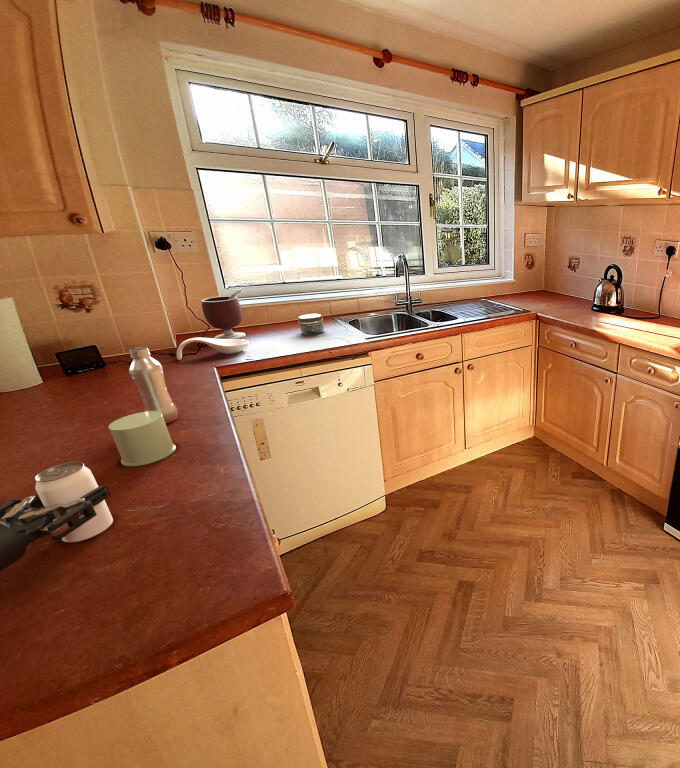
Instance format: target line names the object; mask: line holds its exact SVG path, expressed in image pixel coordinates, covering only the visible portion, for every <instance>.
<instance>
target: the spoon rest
mask: <svg viewBox="0 0 680 768" xmlns="http://www.w3.org/2000/svg"><path fill="white" fill-rule="evenodd" d="M192 343H202V344H205V345H207V346H209V347H210V348H212V349H214V350H216V351H218V352H220V353H222V354H224V355H230V354H231V355H233V354H238V353H240V352H242V351H243V350H245V349H246V348H247V347H248V345H249V344H250V342H249V340H247V339H243V338H240V339H213V337H191V338H188V339H186V340H184V341H182V342H181V343H180V344H179V346H178V348H177V350H176V359H177V360H178V361H181V360H182V359H183V349H184V347H186V346H187V345H189V344H192Z"/></svg>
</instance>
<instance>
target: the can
mask: <svg viewBox="0 0 680 768" xmlns="http://www.w3.org/2000/svg"><path fill="white" fill-rule="evenodd" d="M34 481H35V487H34V488H35V489H34V490H35V492H36V493H37V495H39V497H40V499H41V501H42V503H43V505H44V507H43V508H47V507H50V506H53V505H55V504H58V503H62V504H67V503H70V502H72V501H75V500H78V499H80V498H81V497H82V496H84V495H86V494H87V493H89V492H91V491H92V490H94V489H96V488H97V487H99V485H98V482H97V481H96V478H95V476H94V474H93V473H92V470H91V469H90V468H88V467H87V466H85V463H84V462H82V461H69V462H64V463H60V464H57V465H54V466H51V467H49V468H46V469H44V470H42V471H41V472H39V473H37V475H35V477H34ZM74 508H76V507H73V508H70V509H68V510H67V511H66V512H67V513H68V512H69V511H71V510H72V509H74ZM94 510H95V512H96V514H97V515H96V516H95V517H93V518H92V519H90V520H89V521H87V522H86V523H84V524H83V525H81V526H80V527H78V528H77V529H75V530H74V531H72V532H71V533H69V534H68V535H66V536H65V537H63V538H62V539H61V541H63V542H64V543H76V542H77V543H78V542H81V541H85V540H88V539H90V538H93V537H95V536H97V535H99V534H101V533H103V532H104V531H106V530H107V529H108V528H109V527H111V525H112V524H113V523H114V519H113V516H112V513H111V510H110V509H109V507H108V504H107V502H106V499H105V500H103V501H102V502H100V503H99V504H97V505H96V506H94ZM53 514H54V516H55V517H56V519H58V518H60V517H61V516H60V514H59V512H53ZM83 516H84V515H83ZM83 516H81V517H83ZM81 517H79V518H81Z"/></svg>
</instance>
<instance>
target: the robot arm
mask: <svg viewBox="0 0 680 768" xmlns="http://www.w3.org/2000/svg"><path fill="white" fill-rule="evenodd" d="M110 496H111V492H110V489H109V487H108V486H107V485H98V487H97V488H96V489H94V490H92V491H91V492H89V493H87V494H86V495H84V496H82V497H81V498H80V499H78V500H75V501H72V502H70V503H67V504H62V503H58V504H55V505H53V506H50V507H47V508H45V507H44V505H43V503H42V501H41V499H40V497H39V495H38V494H36V495H31V496H27V497H25V498H23V499H21V498H20V497H15V498H12V499H10V500H8V501H6V502H4V503H2V504H1V505H0V573H1V572H2V571H5V570H6V569H7V568H9V567H10V566H12V565H14V564H15V563H16V562H18V561H19V560H21V559H22V558H23V557H24V556H25V554H26V551H27V548H28V546H29V544H30V543H33V542H34V541H36V540H39V539H41V538H43V537H45V536H51V539H52V540H53V541H59V540H62V538H63V537H65V536H66V535H68V534H69V533H71V532H72V531H74V530H75V529H77V528H78V527H80V526H81V525H83V524H84V523H86V522H87V521H89V520H90V519H92V518H93V517H95V516H96V515H97V514H96V512H95V510H94V506H96V505H97V504H99V503H100V502H102V501H103V500H105V501H106V500H107V499H108V498H109V497H110ZM73 507H76V508H74V509H72V510H71V511H69V512H68V513H67V512H66V511H67V510H68V509H70V508H73ZM8 509H10V510H9V511H8V512H6V511H7V510H8ZM53 512H59V514H60V516H61V517H60V518H58V519H56V517H55V516H54V514H53ZM83 515H84V516H83ZM81 516H83V517H81ZM79 517H81V518H79Z"/></svg>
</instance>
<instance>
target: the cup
mask: <svg viewBox="0 0 680 768" xmlns="http://www.w3.org/2000/svg"><path fill="white" fill-rule="evenodd" d="M108 430H109V432H110V435H111V437H112V439H113V442H114V445H115V446H116V448H117V451H118V453H119V456H120V458H121V459H120V463H121V465H123V466H124V467H139V466H145V465H149V464H152V463H155V462H159V461H161V460H163V459H165V458H168V457H169V456H171V455H172V454H173V453H175V451H176V450H177V446H176V443H174V442H173V439H172V437H171V435H170V434H171V433H170V431H169V429H168V425H167V424H166V423H165V420H164V417H163V415H162V413H161V412H158V411H148V412H145V411H141V412H136V413H132V414H129V415H125V416H123V417H120V418H118V419H115V420H114V421H112V422H111V423H110V424H108Z"/></svg>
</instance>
